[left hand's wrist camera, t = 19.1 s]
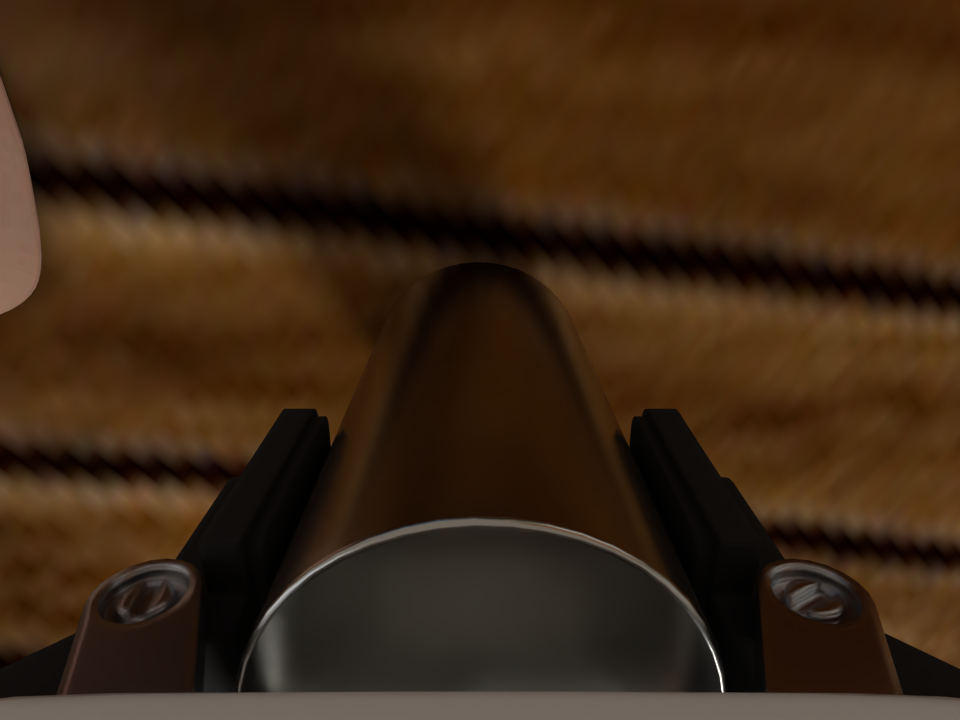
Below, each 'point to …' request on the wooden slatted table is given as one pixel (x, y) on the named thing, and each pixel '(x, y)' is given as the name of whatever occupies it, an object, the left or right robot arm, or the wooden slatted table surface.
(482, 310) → the can
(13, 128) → the anatomical model
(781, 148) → the wooden slatted table surface
